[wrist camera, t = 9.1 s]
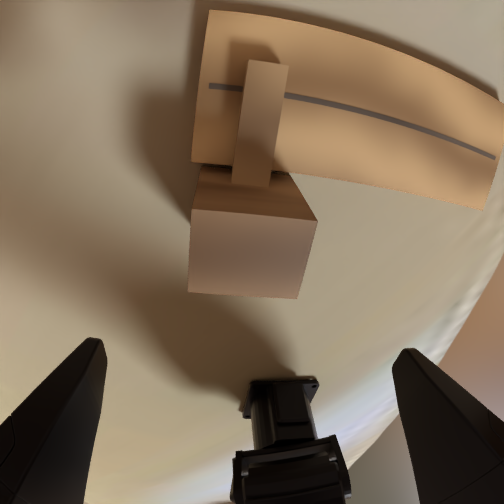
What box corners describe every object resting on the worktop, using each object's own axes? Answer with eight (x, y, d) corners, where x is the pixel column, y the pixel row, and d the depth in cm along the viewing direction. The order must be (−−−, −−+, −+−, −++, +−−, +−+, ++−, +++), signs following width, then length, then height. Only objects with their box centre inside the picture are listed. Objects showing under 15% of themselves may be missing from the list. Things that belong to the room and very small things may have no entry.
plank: (473, 203, 20) (482, 210, 18) (192, 156, 17) (190, 162, 16) (500, 105, 16) (511, 108, 14) (210, 14, 13) (209, 9, 12)
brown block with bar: (278, 236, 20) (297, 298, 15) (196, 229, 19) (187, 291, 14) (309, 72, 15) (350, 73, 10) (214, 58, 14) (208, 49, 9)
